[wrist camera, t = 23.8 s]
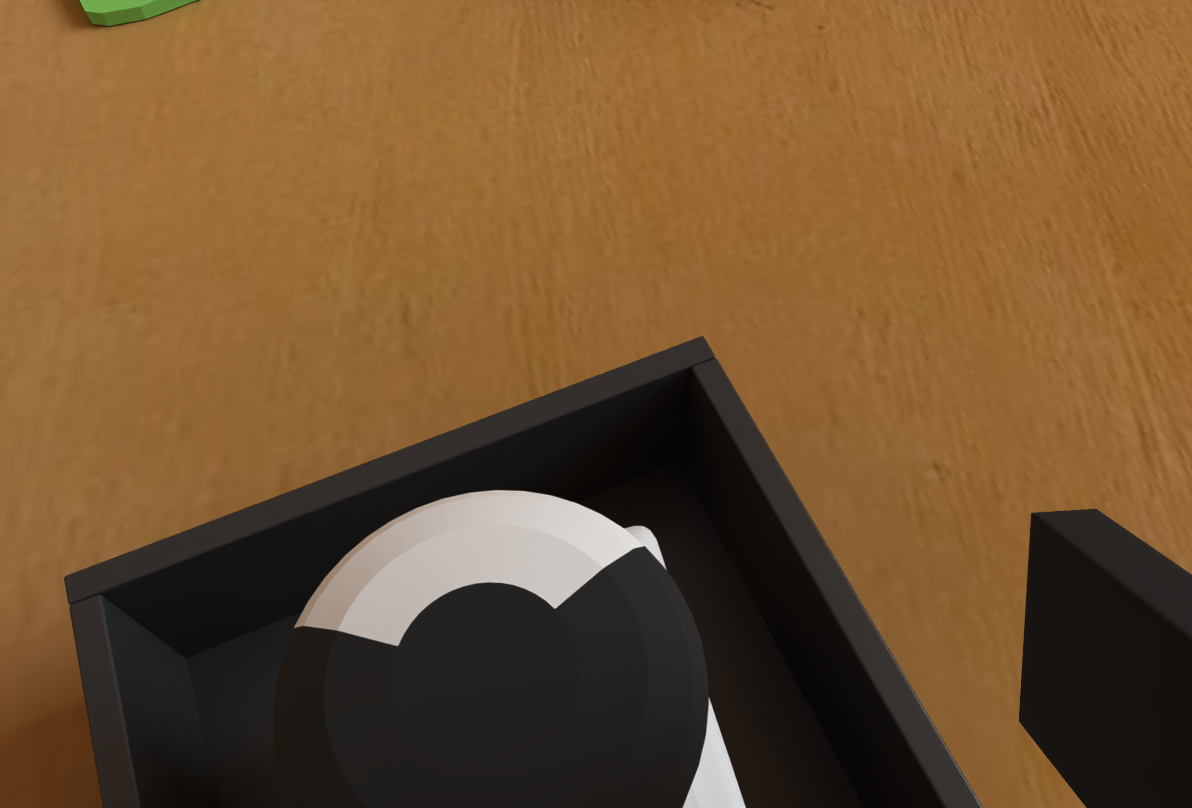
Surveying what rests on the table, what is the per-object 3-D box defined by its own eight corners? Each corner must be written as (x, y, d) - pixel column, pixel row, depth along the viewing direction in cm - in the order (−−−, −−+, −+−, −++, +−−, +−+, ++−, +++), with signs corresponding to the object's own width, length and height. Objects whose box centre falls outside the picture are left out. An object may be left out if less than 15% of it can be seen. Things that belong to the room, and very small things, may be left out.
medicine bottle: (735, 927, 22) (841, 877, 12) (422, 1028, 21) (238, 1071, 11) (642, 627, 26) (661, 386, 15) (369, 703, 25) (193, 502, 14)
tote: (990, 1004, 22) (1106, 1011, 17) (325, 1372, 19) (219, 1515, 14) (687, 448, 29) (703, 334, 24) (170, 655, 27) (62, 575, 21)
